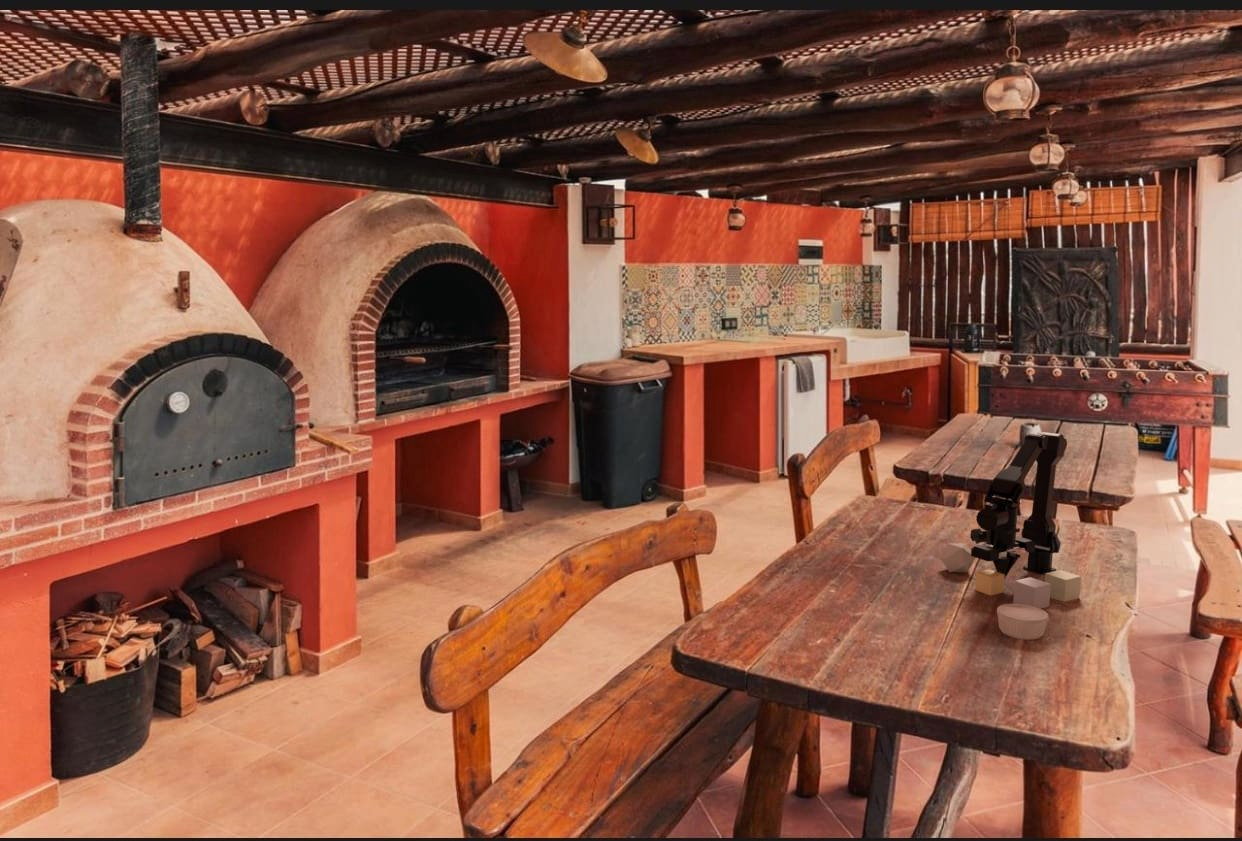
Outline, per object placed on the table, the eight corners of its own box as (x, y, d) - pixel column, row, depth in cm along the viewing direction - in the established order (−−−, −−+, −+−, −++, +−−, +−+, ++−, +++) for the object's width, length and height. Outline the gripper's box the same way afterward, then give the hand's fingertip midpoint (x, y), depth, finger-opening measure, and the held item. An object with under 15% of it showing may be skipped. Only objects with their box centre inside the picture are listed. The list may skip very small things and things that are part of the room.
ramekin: (1033, 623, 219) (1034, 602, 219) (1056, 641, 208) (1058, 620, 208) (987, 624, 219) (988, 603, 218) (1008, 642, 208) (1009, 620, 207)
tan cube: (1058, 591, 242) (1060, 569, 241) (1079, 598, 236) (1080, 576, 235) (1043, 595, 239) (1045, 573, 238) (1064, 602, 233) (1066, 580, 233)
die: (969, 580, 253) (984, 550, 254) (941, 563, 253) (957, 534, 255) (958, 581, 261) (973, 552, 262) (931, 565, 261) (946, 536, 263)
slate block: (1028, 599, 236) (1030, 577, 235) (1049, 606, 231) (1050, 583, 230) (1013, 603, 233) (1014, 580, 232) (1033, 610, 228) (1035, 587, 227)
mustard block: (987, 587, 245) (988, 569, 244) (1003, 592, 241) (1004, 574, 240) (975, 590, 243) (976, 572, 242) (990, 595, 238) (991, 577, 238)
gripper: (1003, 511, 252) (999, 565, 255) (956, 521, 244) (953, 576, 246) (1038, 521, 243) (1034, 577, 245) (990, 531, 234) (987, 588, 236)
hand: (1001, 579), depth 244 cm, fingers closed
